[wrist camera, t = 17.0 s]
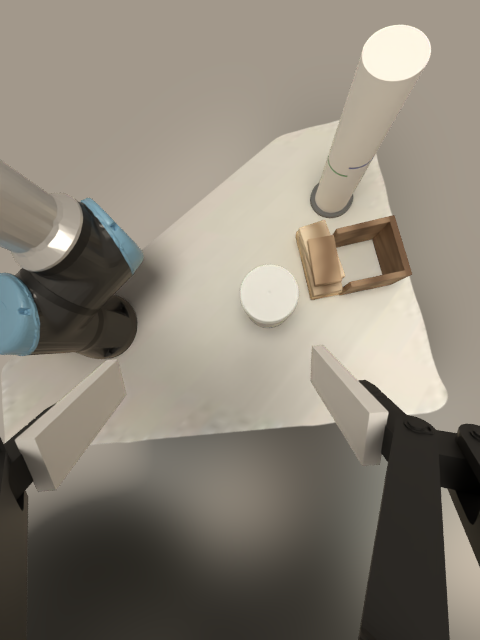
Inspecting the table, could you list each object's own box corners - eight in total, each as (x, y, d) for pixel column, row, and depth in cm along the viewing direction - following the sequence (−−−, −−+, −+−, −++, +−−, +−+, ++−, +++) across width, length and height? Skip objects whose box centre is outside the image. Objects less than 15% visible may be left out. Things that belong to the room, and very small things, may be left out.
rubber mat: (306, 214, 50) (306, 213, 50) (315, 177, 51) (315, 176, 51) (347, 220, 49) (348, 219, 49) (355, 183, 50) (356, 181, 49)
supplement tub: (241, 292, 50) (231, 271, 36) (282, 280, 49) (289, 253, 35) (253, 334, 49) (247, 329, 34) (295, 322, 48) (308, 312, 34)
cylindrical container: (349, 211, 49) (433, 76, 24) (315, 213, 50) (363, 85, 25) (347, 181, 49) (428, 19, 25) (314, 184, 50) (360, 30, 26)
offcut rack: (309, 301, 48) (317, 294, 41) (294, 236, 50) (298, 218, 43) (390, 284, 47) (412, 274, 40) (371, 217, 49) (388, 196, 42)
